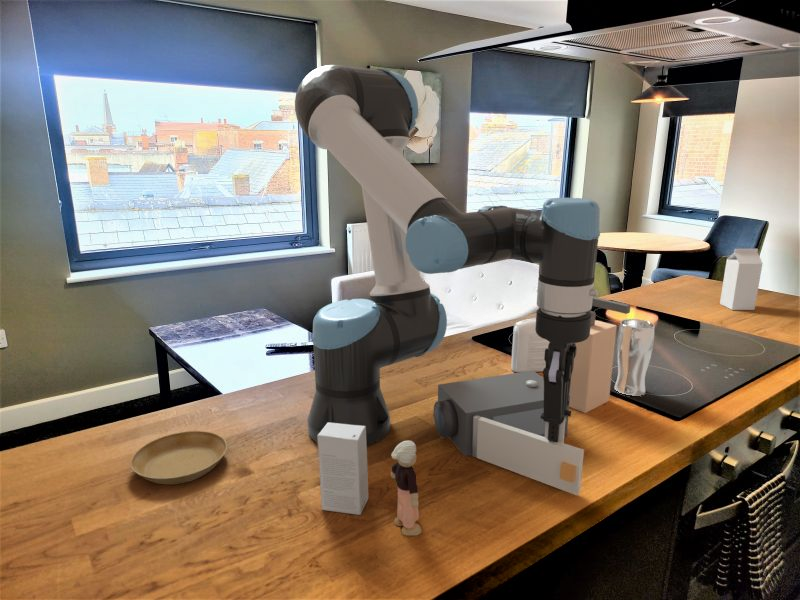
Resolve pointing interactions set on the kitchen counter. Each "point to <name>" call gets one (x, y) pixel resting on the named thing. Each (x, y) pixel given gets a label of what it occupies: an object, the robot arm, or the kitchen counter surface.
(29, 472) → the kitchen counter surface
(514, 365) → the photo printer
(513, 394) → the camera housing
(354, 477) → the skincare box
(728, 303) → the milk carton
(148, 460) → the plant saucer
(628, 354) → the beer glass
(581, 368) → the soap dispenser
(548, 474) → the side door
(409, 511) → the grandmother figurine
